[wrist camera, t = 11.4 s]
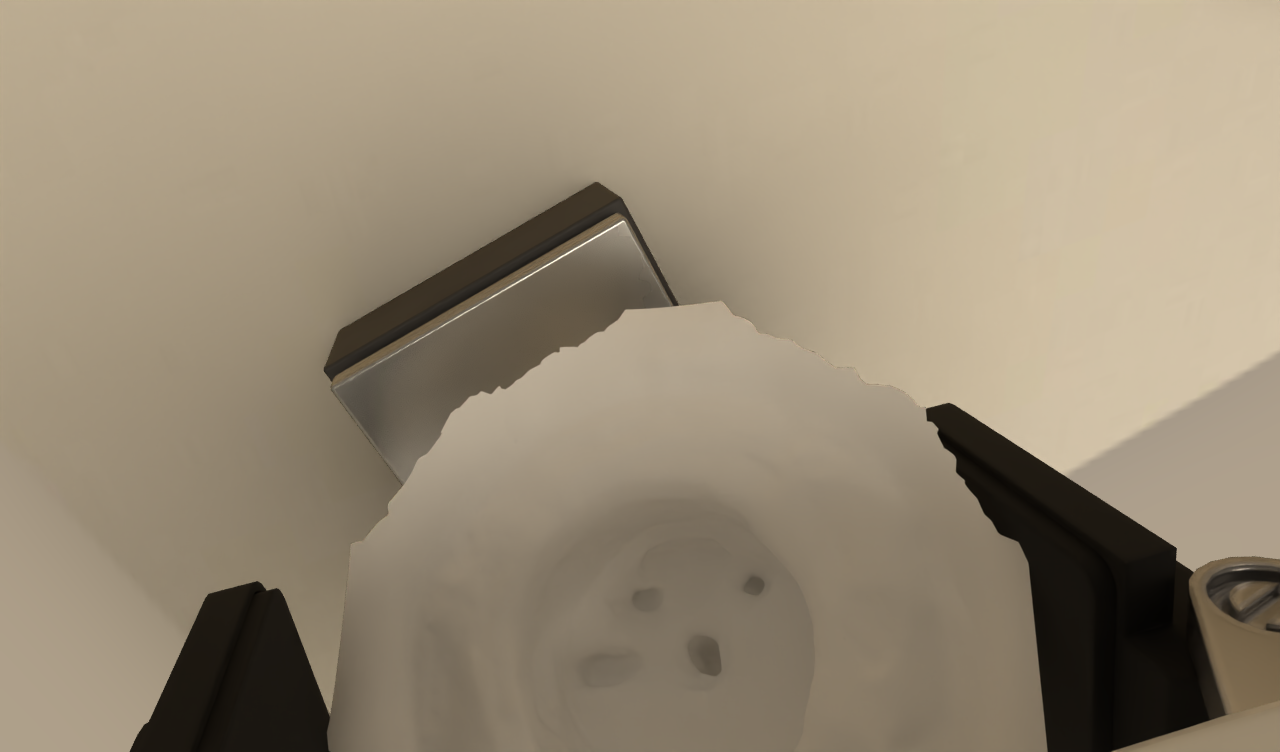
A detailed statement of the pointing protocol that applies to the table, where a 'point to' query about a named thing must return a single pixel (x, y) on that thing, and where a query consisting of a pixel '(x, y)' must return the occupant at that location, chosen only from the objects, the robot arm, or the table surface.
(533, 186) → the table surface
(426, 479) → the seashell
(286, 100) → the table surface
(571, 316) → the scale pan
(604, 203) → the scale
